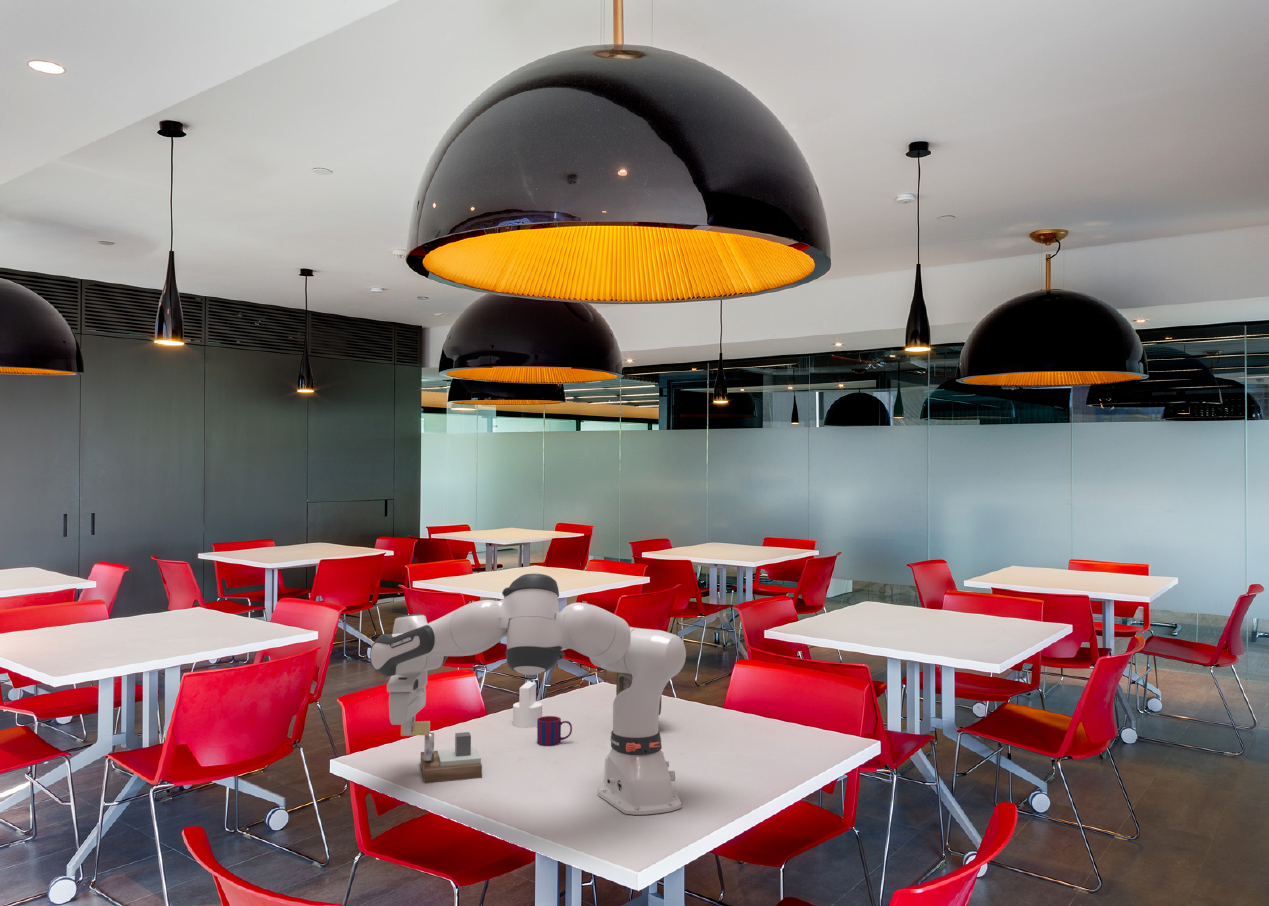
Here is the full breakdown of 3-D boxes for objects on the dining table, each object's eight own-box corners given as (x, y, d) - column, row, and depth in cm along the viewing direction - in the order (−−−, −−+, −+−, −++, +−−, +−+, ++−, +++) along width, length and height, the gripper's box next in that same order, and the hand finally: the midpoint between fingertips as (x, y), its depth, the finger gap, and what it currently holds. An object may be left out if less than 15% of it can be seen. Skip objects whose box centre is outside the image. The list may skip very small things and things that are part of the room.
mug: (541, 738, 248) (541, 715, 249) (574, 741, 246) (574, 717, 247) (534, 745, 242) (534, 721, 242) (567, 747, 240) (568, 723, 240)
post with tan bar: (398, 766, 212) (399, 727, 212) (401, 760, 217) (402, 721, 218) (432, 765, 213) (433, 726, 214) (434, 758, 218) (434, 720, 219)
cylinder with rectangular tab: (517, 719, 269) (517, 681, 270) (545, 720, 268) (545, 682, 269) (509, 727, 261) (509, 687, 261) (537, 728, 259) (538, 688, 260)
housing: (481, 777, 214) (481, 765, 214) (424, 783, 210) (424, 770, 210) (473, 758, 229) (473, 747, 229) (420, 763, 225) (420, 752, 225)
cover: (480, 763, 216) (481, 738, 216) (440, 766, 213) (441, 741, 213) (475, 751, 225) (476, 728, 226) (437, 755, 222) (437, 731, 223)
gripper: (408, 670, 225) (407, 723, 224) (384, 686, 205) (383, 745, 204) (432, 670, 225) (431, 723, 224) (410, 686, 205) (409, 745, 204)
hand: (408, 733), depth 214 cm, fingers closed
